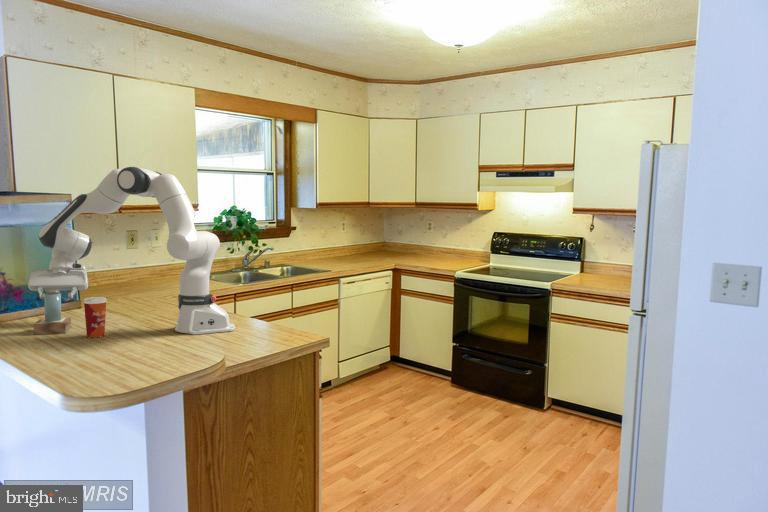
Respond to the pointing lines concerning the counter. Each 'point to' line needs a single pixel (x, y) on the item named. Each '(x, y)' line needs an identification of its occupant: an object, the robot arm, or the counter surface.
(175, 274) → the counter surface
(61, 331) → the base
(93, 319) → the paper cup
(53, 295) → the jar
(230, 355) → the counter surface
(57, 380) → the counter surface
